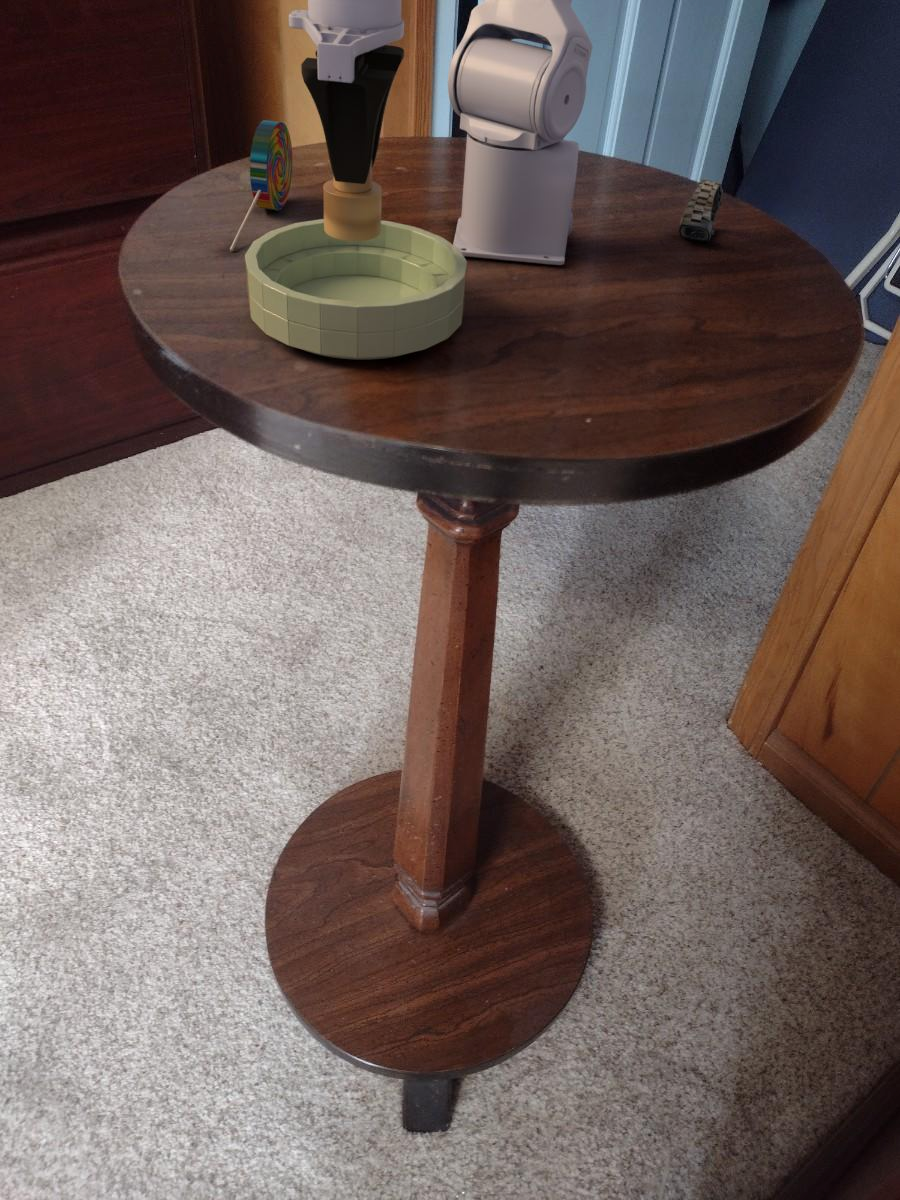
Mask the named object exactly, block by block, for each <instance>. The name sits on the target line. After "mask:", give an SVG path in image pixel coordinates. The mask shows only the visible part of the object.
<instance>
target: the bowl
mask: <svg viewBox="0 0 900 1200" xmlns="http://www.w3.org/2000/svg"><path fill="white" fill-rule="evenodd" d="M244 264H245V265H244V266H245V278H246V279H245V280H246V291H247V292H246V293H247V303H248V309H249V315H250V319H251V321H252V322H254V324H255V325H256V326H257V327H258V328H259V329H260V330H261V331H262V332H263V333H264V334H265V335H266V336H268V337H270V338H272V339H274V340H276V341H278V342H280V343H282V344H284V345H286V346H288V347H291V348H296V349H300V350H301V351H305V352H307V353H311V354H315V355H317V356H318V355H319V356H323V357H327V358H334V359H342V360H356V361H357V360H360V361H362V360H363V361H364V360H366V361H367V360H381V359H382V360H383V359H390V358H396V357H401V356H405V355H408V354H412V353H415V352H420V351H424V350H427V349H429V348H432V347H433V346H436V345H437V344H439V343H441V342H443V341H446V340H448V339H449V338H451V336H452V335H453V334H454V333H455V332H456V331H457V330H458V329H459V328H460V327H461V326H462V322H463V318H464V317H463V316H464V312H465V298H466V286H467V275H468V274H467V272H468V261H467V259H466V258H465V256H463V254H462V253H461V251H460V249H458V248H457V247H456V246H454V245H453V243H451V242H450V241H449V240H447V239H446V238H444V237H442V236H441V235H438V234H435V233H433V232H430V231H427V230H425V229H422V228H420V227H417V226H412V225H409V224H403V223H400V222H394V221H390V220H382V219H381V233H380V235H379V236H378V237H376V238H374V239H371V240H366V241H344V240H339V239H336V238H333V237H331V236H329V235H327V234H326V233H325V231H324V218H319V219H313V220H307V221H300V222H294V223H291V224H288V225H284V226H282V227H279V228H276V229H273V230H269V231H268V232H266V233H265V234H263V235H262V236H260V237H258V238H257V239H255V240H253V241H252V243H251V244H250V246H249V248H248V249H247V251H246V252H245V254H244Z"/></svg>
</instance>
